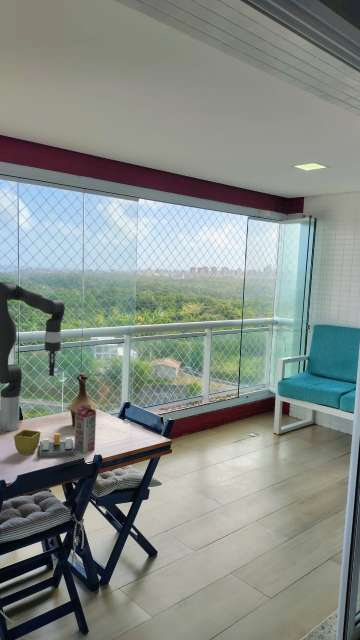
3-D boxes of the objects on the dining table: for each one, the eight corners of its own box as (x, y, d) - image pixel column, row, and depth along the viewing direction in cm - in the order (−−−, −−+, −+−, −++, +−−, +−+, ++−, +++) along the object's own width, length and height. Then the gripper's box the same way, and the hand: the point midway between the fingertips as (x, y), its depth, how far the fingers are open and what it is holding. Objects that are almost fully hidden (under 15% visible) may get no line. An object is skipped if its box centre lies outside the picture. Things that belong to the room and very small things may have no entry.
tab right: (65, 448, 221) (65, 439, 221) (65, 447, 223) (65, 437, 223) (71, 448, 222) (71, 438, 221) (71, 446, 224) (71, 437, 223)
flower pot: (31, 457, 216) (31, 437, 215) (13, 455, 217) (13, 435, 217) (40, 450, 224) (41, 431, 223) (23, 448, 226) (23, 429, 225)
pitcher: (62, 421, 268) (64, 371, 265) (93, 419, 275) (95, 370, 272) (70, 431, 252) (71, 378, 249) (102, 428, 259) (103, 376, 257)
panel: (39, 457, 216) (39, 452, 215) (40, 445, 231) (40, 440, 231) (74, 456, 219) (74, 451, 219) (72, 443, 235) (72, 439, 235)
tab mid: (53, 444, 226) (54, 435, 225) (53, 443, 228) (54, 433, 227) (59, 444, 226) (59, 434, 226) (59, 442, 228) (59, 433, 228)
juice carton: (85, 446, 232) (86, 401, 230) (94, 450, 228) (96, 403, 226) (74, 449, 227) (75, 403, 225) (83, 453, 223) (84, 406, 221)
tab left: (42, 449, 218) (42, 439, 218) (42, 448, 220) (42, 438, 220) (48, 449, 219) (48, 439, 219) (48, 447, 221) (48, 438, 221)
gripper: (45, 338, 243) (43, 372, 244) (44, 342, 230) (43, 378, 232) (60, 338, 244) (59, 372, 246) (61, 343, 232) (59, 378, 234)
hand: (51, 375), depth 239 cm, fingers closed
